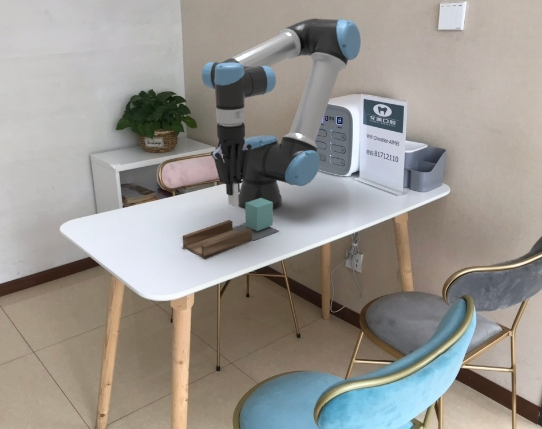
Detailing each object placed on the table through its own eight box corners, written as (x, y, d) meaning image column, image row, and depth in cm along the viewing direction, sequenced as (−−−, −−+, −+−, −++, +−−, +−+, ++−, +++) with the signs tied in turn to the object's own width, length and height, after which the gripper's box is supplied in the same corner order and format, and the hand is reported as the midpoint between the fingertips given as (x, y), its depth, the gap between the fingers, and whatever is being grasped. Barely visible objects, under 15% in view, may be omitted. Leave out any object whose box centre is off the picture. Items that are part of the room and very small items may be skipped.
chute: (183, 246, 151) (182, 235, 150) (229, 230, 162) (229, 219, 161) (205, 258, 144) (204, 247, 143) (251, 240, 155) (251, 229, 154)
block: (245, 225, 163) (245, 202, 160) (260, 220, 167) (261, 197, 164) (257, 231, 159) (257, 207, 156) (272, 225, 163) (272, 202, 161)
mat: (229, 229, 163) (229, 228, 163) (254, 220, 169) (254, 219, 169) (254, 240, 155) (254, 239, 155) (278, 231, 162) (278, 230, 162)
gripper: (220, 129, 137) (224, 214, 147) (258, 121, 146) (259, 202, 155) (202, 124, 142) (207, 207, 151) (240, 116, 150) (242, 195, 160)
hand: (233, 204), depth 153 cm, fingers closed
